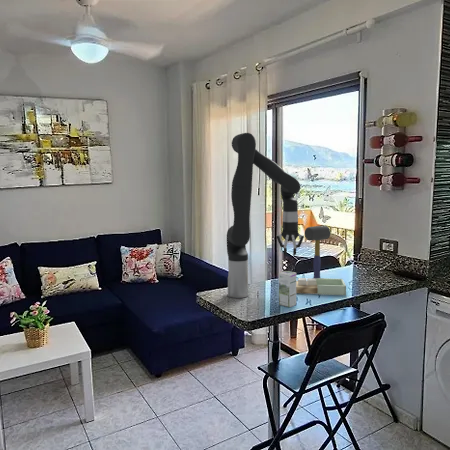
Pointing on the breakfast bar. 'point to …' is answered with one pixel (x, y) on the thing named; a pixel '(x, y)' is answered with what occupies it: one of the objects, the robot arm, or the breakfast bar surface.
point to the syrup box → (287, 288)
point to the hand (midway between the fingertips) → (290, 255)
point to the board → (306, 288)
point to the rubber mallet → (317, 244)
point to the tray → (331, 286)
